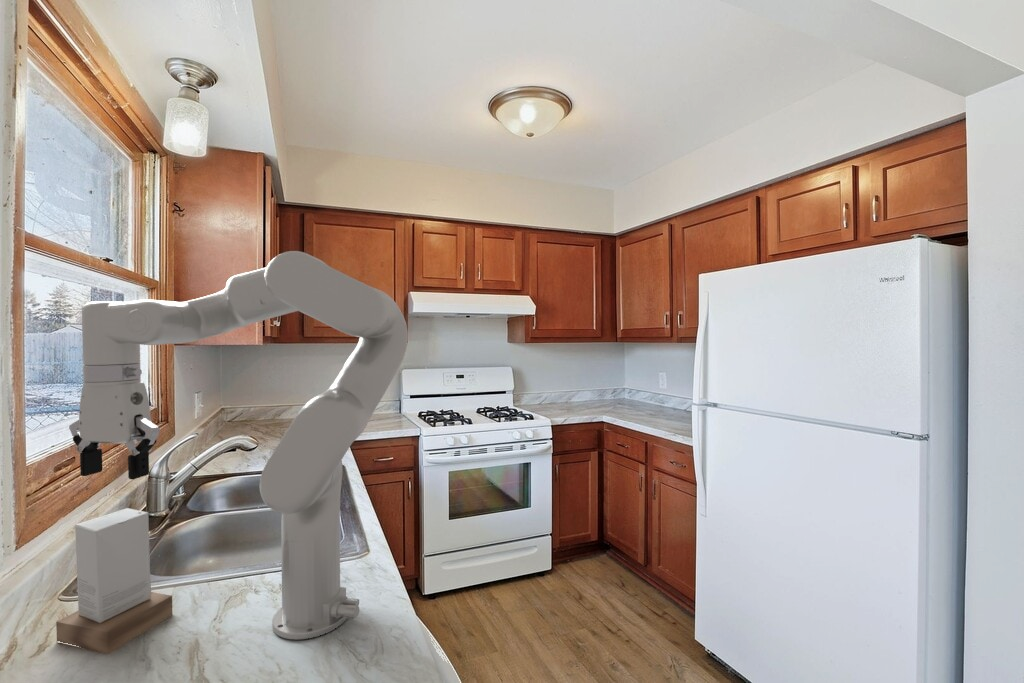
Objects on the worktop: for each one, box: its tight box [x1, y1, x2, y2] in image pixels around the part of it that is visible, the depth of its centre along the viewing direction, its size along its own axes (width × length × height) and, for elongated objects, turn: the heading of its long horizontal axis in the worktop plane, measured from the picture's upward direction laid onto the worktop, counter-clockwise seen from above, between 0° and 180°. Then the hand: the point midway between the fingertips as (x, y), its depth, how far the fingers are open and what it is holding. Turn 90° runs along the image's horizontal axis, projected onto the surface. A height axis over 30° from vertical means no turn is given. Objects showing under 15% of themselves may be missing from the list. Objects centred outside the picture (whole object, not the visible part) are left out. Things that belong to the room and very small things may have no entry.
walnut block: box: [55, 591, 173, 655], centre depth 84 cm, size 11×11×4 cm
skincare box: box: [74, 507, 152, 623], centre depth 84 cm, size 8×7×16 cm
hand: (115, 475), depth 84 cm, fingers open, 9 cm apart
